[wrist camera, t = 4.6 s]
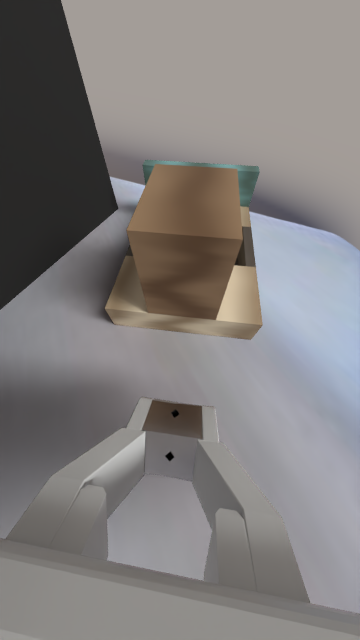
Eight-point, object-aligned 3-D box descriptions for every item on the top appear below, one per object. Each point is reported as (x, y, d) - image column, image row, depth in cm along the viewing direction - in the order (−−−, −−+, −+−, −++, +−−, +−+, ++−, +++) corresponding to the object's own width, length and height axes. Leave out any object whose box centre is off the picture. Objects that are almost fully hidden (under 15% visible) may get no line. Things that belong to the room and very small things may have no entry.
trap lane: (114, 324, 19) (85, 277, 13) (152, 215, 30) (145, 159, 24) (250, 339, 19) (285, 296, 13) (241, 221, 29) (258, 166, 23)
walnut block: (148, 313, 17) (126, 230, 10) (163, 252, 21) (155, 163, 14) (215, 320, 16) (242, 239, 9) (217, 257, 20) (237, 168, 13)
